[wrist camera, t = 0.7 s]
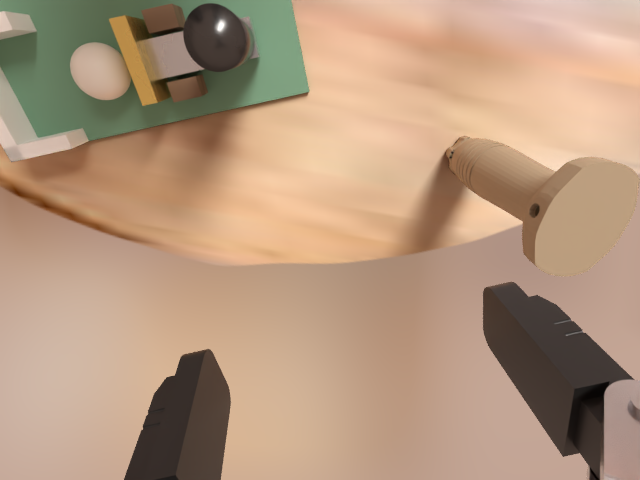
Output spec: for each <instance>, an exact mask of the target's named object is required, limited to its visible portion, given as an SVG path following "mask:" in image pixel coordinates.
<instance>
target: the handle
mask: <svg viewBox="0 0 640 480" xmlns="http://www.w3.org/2000/svg"><path fill="white" fill-rule="evenodd" d="M446 156H447V157H448V158H449V163H450V165H449V169H450V170H451V171H452V172H453V173H454V174H455V175H456V176H457V177H458V178H459V179H460V180H461V182H462V183H463V184H464V185H466V186H467V187H468V188H469V189H470V190H472V191H473V192H474V193H476V194H477V195H479V196H480V197H482V198H483V199H485V200H487V201H489V202H491V203H492V204H494V205H496V206H498V207H499V208H501V209H503V210H505V211H506V212H508V213H510V214H511V215H513V216H515V217H516V218H518V219H520V220H521V221H523V230H522V232H523V233H522V240H523V252H524V255H525V256H526V257H527V258H528V259H529V260H530V261H531V262H532V263H533V264H534V265H536V266H537V267H538V268H539V269H540V270H542V271H543V272H545V273H547V274H550V275H555V276H574V275H577V274H581V273H584V272H586V271H588V270H589V269H590V268H591V267H592V266H594V265H595V264H596V263H597V262H598V261H599V260H601V259H602V258H603V257H604V256H605V255H606V254H607V253H608V252H609V251H610V250H611V249H612V248H613V247H614V246H615V244H616V243H617V241H618V240H619V238H620V237H621V235H622V233H623V231H624V230H625V228H626V227H627V225H628V223H629V221H630V219H631V217H632V215H633V213H634V210H635V206H636V202H637V196H638V188H639V180H640V179H639V177H638V175H637V174H636V173H635V172H634V170H633V169H631V168H629V167H628V166H626V165H623V164H620V163H617V162H613V161H610V160H607V159H603V158H596V157H584V158H579V159H575V160H572V161H570V162H567V163H566V164H565V165H563V166H562V167H561V168H560V169H559V170H558V171H557V172H555V171H553V170H551V169H549V168H547V167H545V166H543V165H542V164H540V163H538V162H536V161H534V160H533V159H531V158H529V157H527V156H526V155H524V154H522V153H520V152H519V151H517V150H515V149H513V148H511V147H509V146H507V145H504V144H502V143H499V142H495V141H492V140H487V139H479V138H475V139H472V138H470V137H467V136H463V137H460V138H459V139H458V141H457V142H456V144H455V145H454V146H452V147H451V148H448V150H447V152H446Z"/></svg>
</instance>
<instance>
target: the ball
mask: <svg viewBox="0 0 640 480" xmlns="http://www.w3.org/2000/svg"><path fill="white" fill-rule="evenodd" d="M70 70H71V74H72V77H73V79H74V81H75V83H76V84H77V85H78V87H79V88H80V89H81V90H82V91H84V92H85V93H86V94H88V95H89V96H91V97H94V98H96V99H100V100H113V99H116V98H118V97H120V96H122V95H123V94H124V93H125V92H126V91H127V90H128V88H129V86H130V82H131V75H130V72H129V70H128V67H127V65H126V62H125V60H124V57H123V56H122V55H121V54H120V53H119V52H118V51H117V50H116V49H114V48H112V47H111V46H109V45H106V44H103V43H97V42H92V43H86V44H84V45H82V46H80V47H78V48H77V49H76V50H75V52H74V53H73V55H72V57H71V60H70Z"/></svg>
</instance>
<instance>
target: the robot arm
mask: <svg viewBox="0 0 640 480" xmlns="http://www.w3.org/2000/svg"><path fill="white" fill-rule="evenodd" d="M483 330H484V335H485V338H486V341H487V343H488V346H489V348H490V349H491V351H492V352H493V354H494V355H495V357H496V358H497V360H498V361H499V363H500V364H501V366H502V367H503V369H504V370H505V371H506V373H507V375H508V376H509V377H510V379H511V380H512V382H513V383H514V385H515V386H516V388H517V389H518V391H519V392H520V394H521V395H522V397H523V398H524V400H525V401H526V403H527V404H528V406H529V407H530V409H531V410H532V412H533V413H534V414H535V416H536V417H537V419H538V420H539V422H540V423H541V425H542V426H543V428H544V429H545V431H546V432H547V434H548V435H549V437H550V438H551V440H552V441H553V443H554V444H555V445H556V447H557V448H558V450H559V451H560V453H561V454H562V456H563V457H564V456H568V455H573V454H577V453H580V454H581V455H582V457H583V458H584V459H585V461H586V462H587V464H588V469H587V480H640V381H638V380H634V379H633V378H632V377H631V376H630V375H629V374H628V373H627V372H626V371H625V370H623V369H622V368H621V367H620V366H619V365H618V364H617V363H616V362H615V361H614V360H613V359H612V358H611V357H610V356H609V355H608V354H607V353H606V352H605V351H604V350H603V349H602V348H601V347H600V346H599V345H597V343H595V342H594V341H593V340H592V339H591V338H590V337H589V336H588V335H587V334H586V333H583V331H582V329H581V328H580V327H579V326H578V325H577V324H576V323H575V322H573V321H571V319H570V317H569V316H567V315H566V314H565V313H564V312H563V311H562V310H561V309H560V308H559V307H558V306H557V305H556V304H554V303H551V302H550V301H548V300H546V299H544V298H542V297H540V296H538V295H536V296H531V297H528V296H527V295H526V294H525V293H524V291H523V290H522V289H521V288H520V287H519V286H518V285H517V284H516V283H514V282H508V283H503V284H499V285H495V286H491V287H486V288H485V289H484V292H483ZM230 402H231V401H230V392H229V387H228V384H227V382H226V380H225V378H224V376H223V374H222V372H221V369H220V367H219V365H218V363H217V361H216V359H215V357H214V354H213V353H212V351H211V350H209V349H207V350H202V351H198V352H193V353H189V354H184V355H183V356H182V357H181V359H180V361H179V364H178V368H177V371H176V374H175V376H171V377H167V378H166V379H165V380H164V382H163V383H162V384H161V386H160V387H159V388H158V390H157V391H156V392H155V394H154V396H153V399H152V402H151V405H150V407H149V410H148V415H147V416H146V419H145V422H144V424H143V430H142V431H141V433H140V436H139V439H138V441H137V444H136V447H135V450H134V453H133V456H132V458H131V461H130V464H129V467H128V470H127V473H126V475H125V478H124V480H221V472H222V464H223V457H224V450H225V442H226V435H227V427H228V420H229V413H230Z"/></svg>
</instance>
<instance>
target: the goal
mask: <svg viewBox="0 0 640 480" xmlns="http://www.w3.org/2000/svg"><path fill="white" fill-rule="evenodd" d="M32 32H37V30H36V28H35V26H34V24H33V22H32V20H31V18H30V16H29V15H27V14H20V13H13V12H6V11H2V12H0V40H1V39H6V38H10V37H15V36H19V35H23V34H28V33H32ZM88 141H89V140H88V138H87V136H86V134H85V132H84V130H83V128H81V129H76V130H72V131H68V132H63V133H59V134H54V135H50V136H45V137H41V138H38V137H37V135H36V133H35V131H34V129H33V127H32V125H31V123H30V122H29V120H28V118H27V116H26V114H25V112H24V110H23V108H22V107H21V105H20V103H19V101H18V99H17V97H16V95H15V93H14V92H13V90H12V88H11V86H10V84H9V82H8V80H7V78H6V77H5V75H4V73H3V71H2V69H1V67H0V144H1V145H2V147H3V149H4V151H5V152H6V154H7V156H8V158H9V159H10V161H11V162H15V161H19V160H24V159H28V158H33V157H37V156H42V155H46V154H51V153H55V152H60V151H64V150H69V149H73V148H75V147H77V146H79V145H81V144H84V143H86V142H88Z"/></svg>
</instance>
